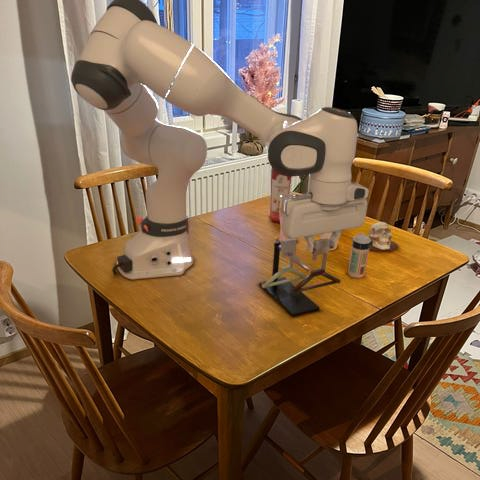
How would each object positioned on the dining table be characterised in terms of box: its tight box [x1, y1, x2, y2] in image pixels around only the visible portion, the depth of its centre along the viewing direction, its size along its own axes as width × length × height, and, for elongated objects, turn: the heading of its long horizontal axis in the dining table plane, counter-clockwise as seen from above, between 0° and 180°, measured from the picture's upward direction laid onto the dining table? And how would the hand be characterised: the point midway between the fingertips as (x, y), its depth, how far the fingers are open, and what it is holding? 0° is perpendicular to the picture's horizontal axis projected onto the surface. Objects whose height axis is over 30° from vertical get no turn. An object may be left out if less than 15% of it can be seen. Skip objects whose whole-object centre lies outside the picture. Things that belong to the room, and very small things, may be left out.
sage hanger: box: [261, 239, 309, 289], centre depth 127 cm, size 14×1×12 cm, turn 116°
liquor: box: [268, 166, 292, 224], centre depth 169 cm, size 7×7×28 cm
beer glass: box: [277, 192, 298, 243], centre depth 158 cm, size 7×7×15 cm
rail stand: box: [258, 240, 321, 318], centre depth 127 cm, size 8×18×13 cm, turn 26°
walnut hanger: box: [290, 238, 342, 294], centre depth 114 cm, size 14×1×12 cm, turn 116°
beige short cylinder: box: [319, 232, 340, 251], centre depth 157 cm, size 7×7×7 cm
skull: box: [368, 221, 399, 252], centre depth 160 cm, size 12×10×10 cm
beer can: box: [347, 233, 371, 279], centre depth 139 cm, size 5×5×12 cm
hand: (320, 249), depth 112 cm, fingers closed on walnut hanger, 4 cm apart
